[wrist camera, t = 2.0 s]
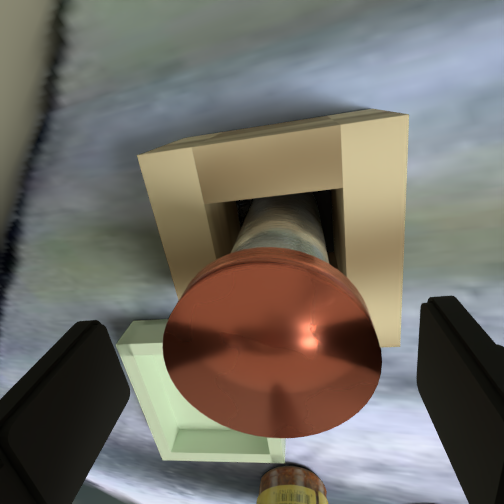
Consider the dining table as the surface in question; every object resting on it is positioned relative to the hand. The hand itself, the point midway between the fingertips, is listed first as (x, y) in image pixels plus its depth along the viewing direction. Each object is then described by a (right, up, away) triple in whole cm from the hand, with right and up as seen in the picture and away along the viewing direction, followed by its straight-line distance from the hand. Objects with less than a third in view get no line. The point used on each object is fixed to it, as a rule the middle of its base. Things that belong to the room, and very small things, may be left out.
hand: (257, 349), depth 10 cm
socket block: (+2, +5, +10) cm, 11 cm away
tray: (-3, -7, +16) cm, 18 cm away
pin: (+2, +5, +10) cm, 11 cm away
